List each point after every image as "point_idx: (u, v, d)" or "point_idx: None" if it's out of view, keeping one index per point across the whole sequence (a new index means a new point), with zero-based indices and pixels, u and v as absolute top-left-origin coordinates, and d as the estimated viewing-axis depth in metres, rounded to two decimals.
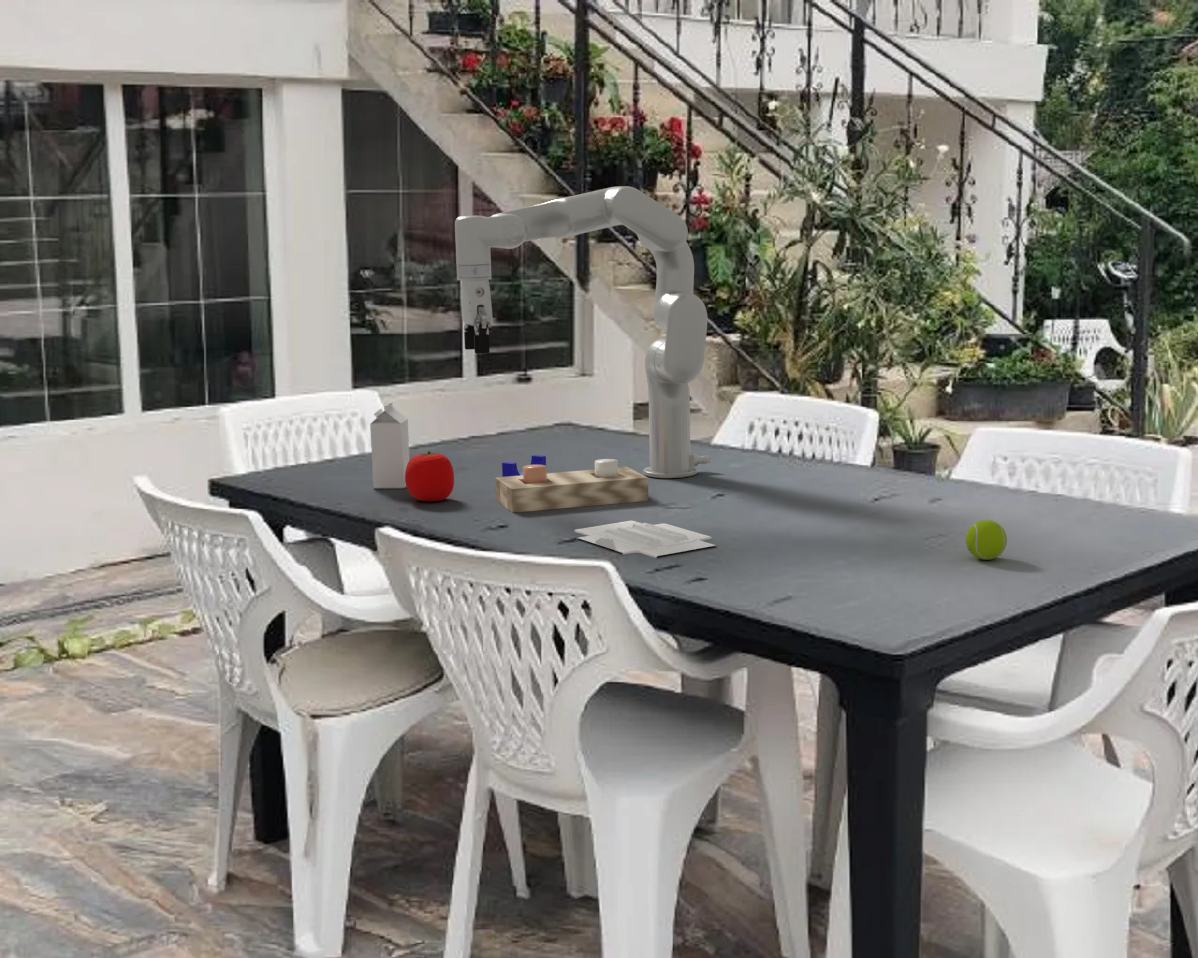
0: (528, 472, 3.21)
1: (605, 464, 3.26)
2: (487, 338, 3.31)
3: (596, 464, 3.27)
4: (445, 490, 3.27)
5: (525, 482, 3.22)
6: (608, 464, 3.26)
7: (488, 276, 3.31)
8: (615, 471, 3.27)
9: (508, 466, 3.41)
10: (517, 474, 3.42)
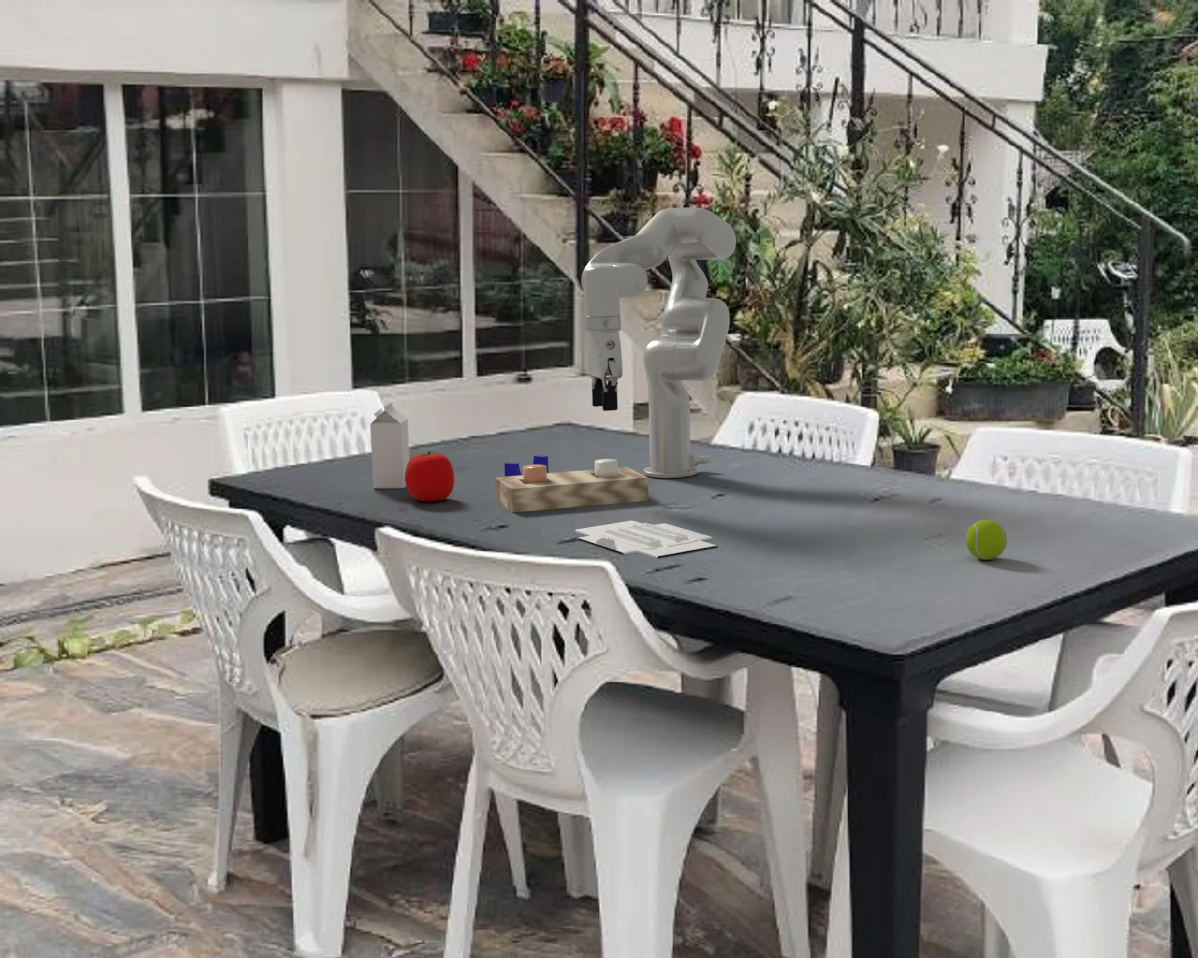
0: (528, 472, 3.21)
1: (605, 464, 3.26)
2: (615, 395, 3.22)
3: (596, 464, 3.27)
4: (445, 490, 3.27)
5: (525, 482, 3.22)
6: (608, 464, 3.26)
7: (618, 328, 3.21)
8: (615, 471, 3.27)
9: (510, 466, 3.40)
10: (519, 474, 3.41)
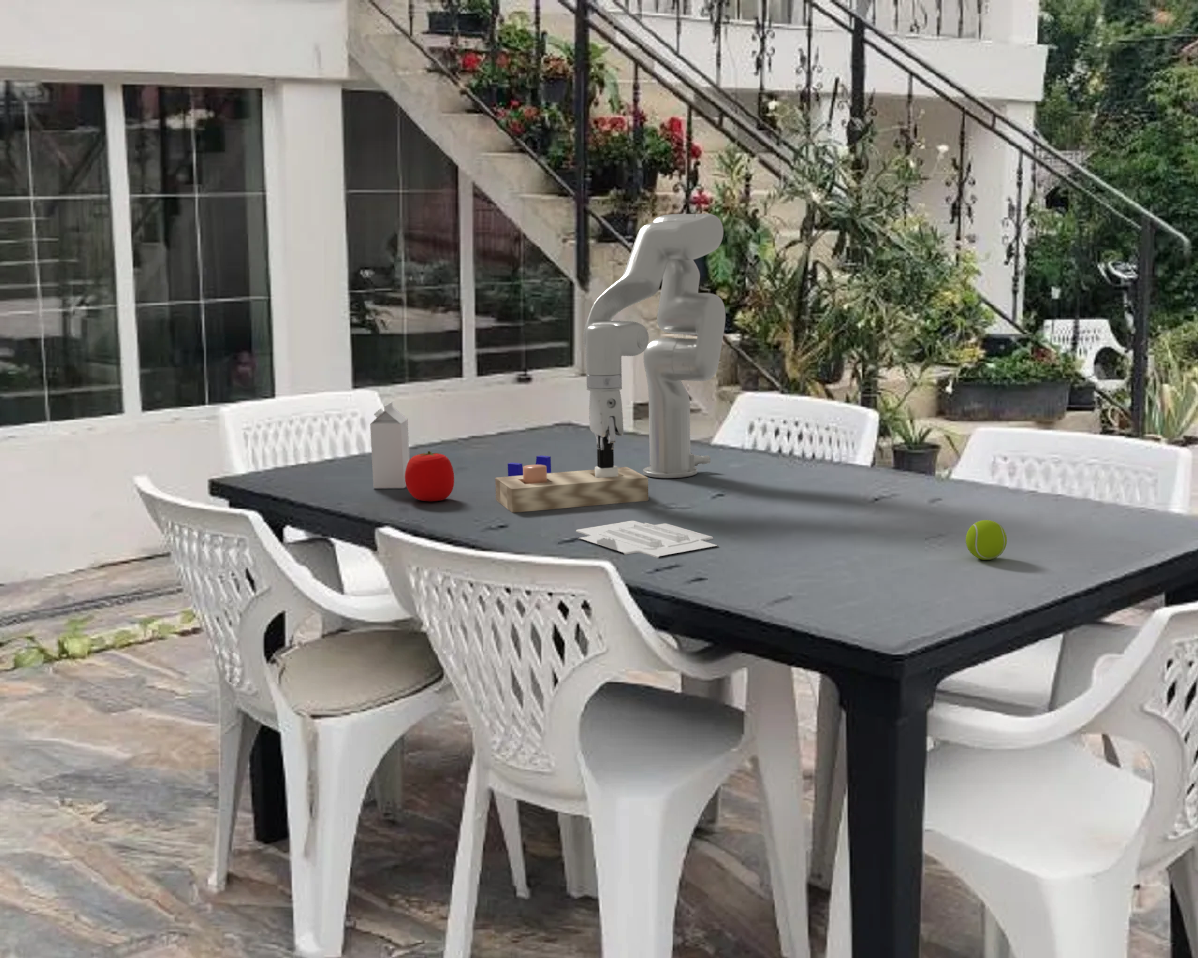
0: (528, 472, 3.21)
1: (605, 470, 3.26)
2: (612, 453, 3.27)
3: (596, 470, 3.27)
4: (445, 490, 3.27)
5: (525, 482, 3.22)
6: (608, 470, 3.26)
7: (619, 386, 3.23)
8: None
9: (514, 467, 3.40)
10: None
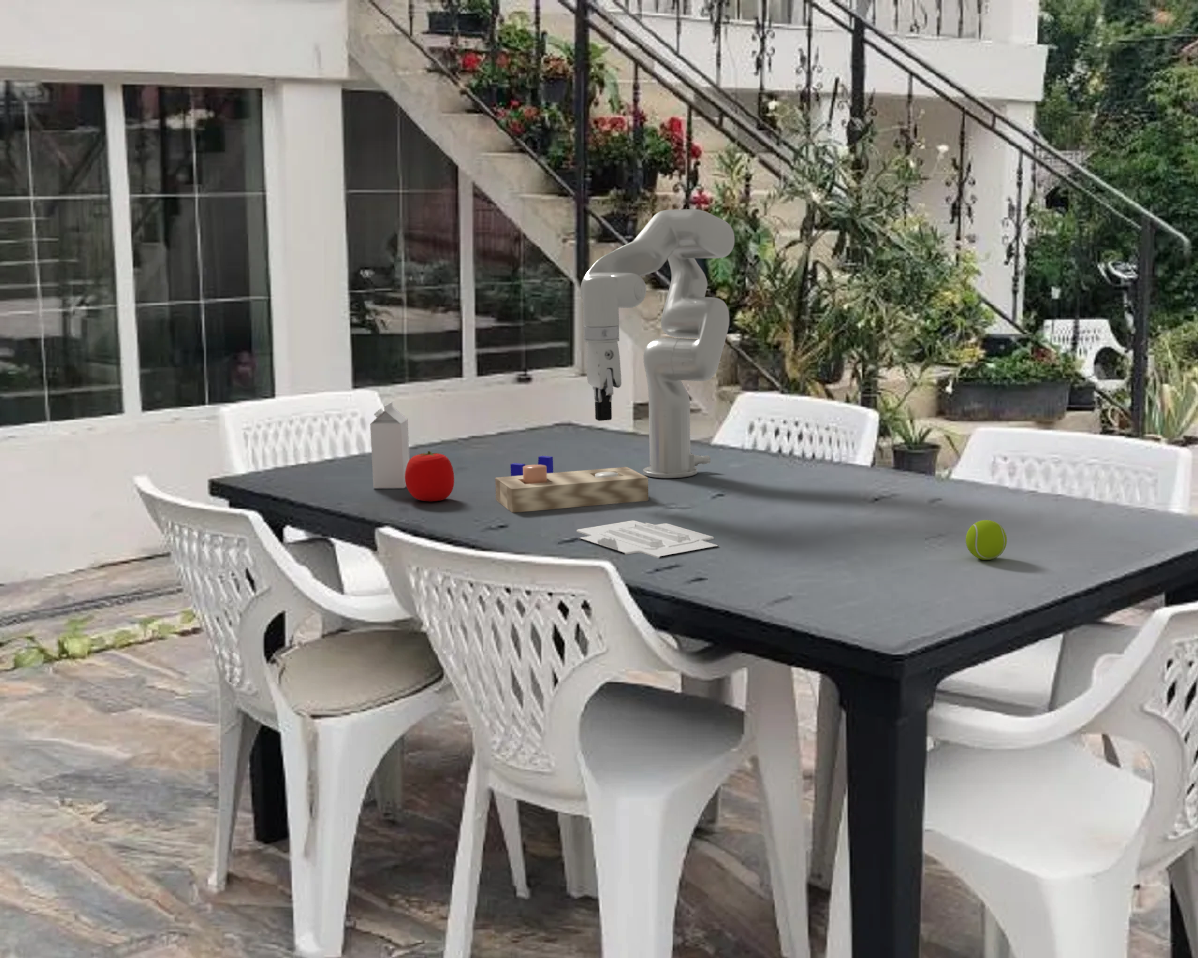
0: (528, 472, 3.21)
1: None
2: (609, 405, 3.25)
3: (596, 477, 3.27)
4: (445, 490, 3.27)
5: (525, 482, 3.22)
6: None
7: (617, 338, 3.21)
8: None
9: (517, 467, 3.39)
10: None
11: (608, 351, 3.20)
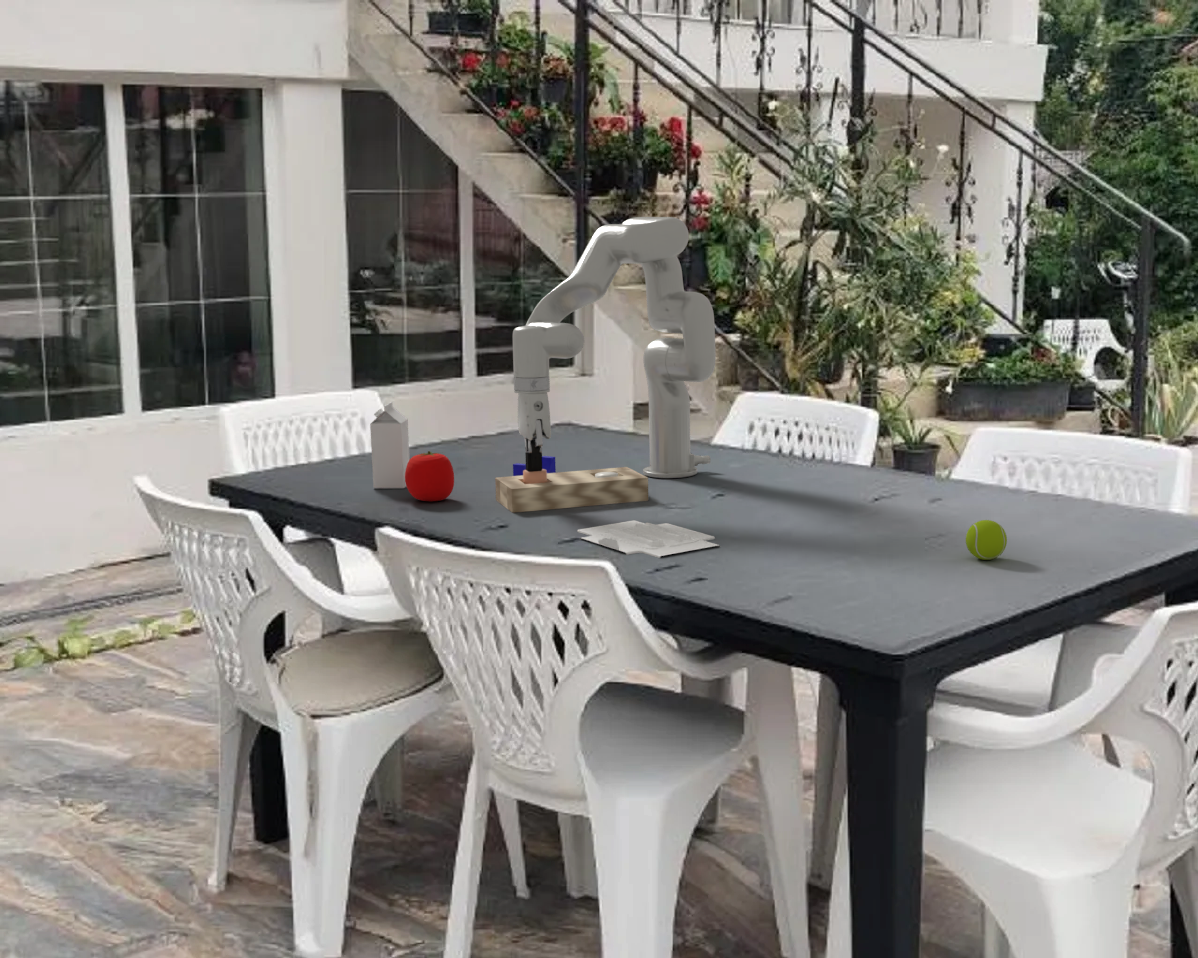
0: (528, 476, 3.21)
1: None
2: (540, 456, 3.22)
3: (596, 477, 3.27)
4: (445, 490, 3.27)
5: None
6: None
7: (547, 389, 3.18)
8: None
9: (519, 467, 3.39)
10: None
11: (538, 402, 3.17)
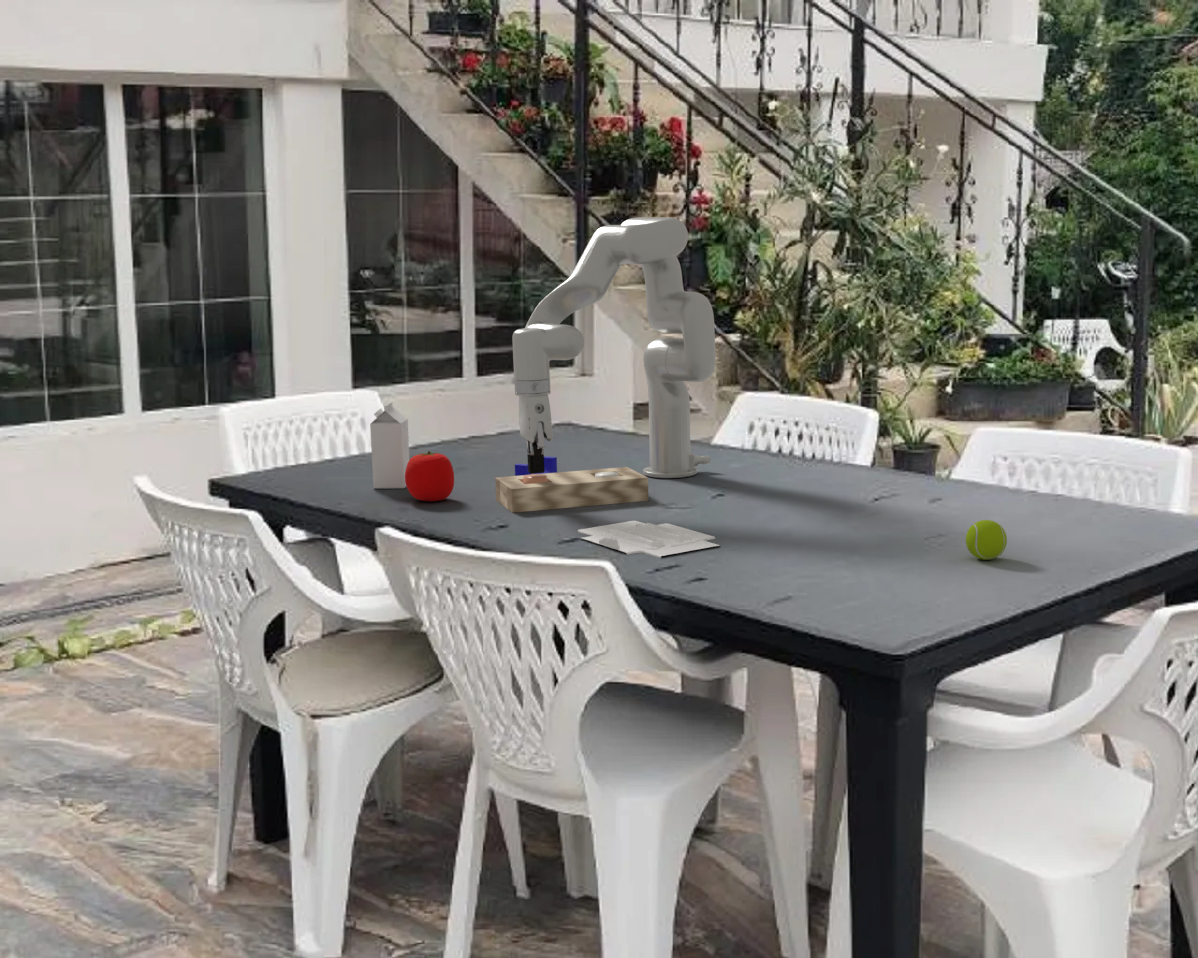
0: (528, 482, 3.22)
1: None
2: (542, 458, 3.23)
3: (596, 477, 3.27)
4: (445, 490, 3.27)
5: None
6: None
7: (547, 391, 3.19)
8: None
9: (521, 468, 3.38)
10: None
11: (539, 405, 3.17)
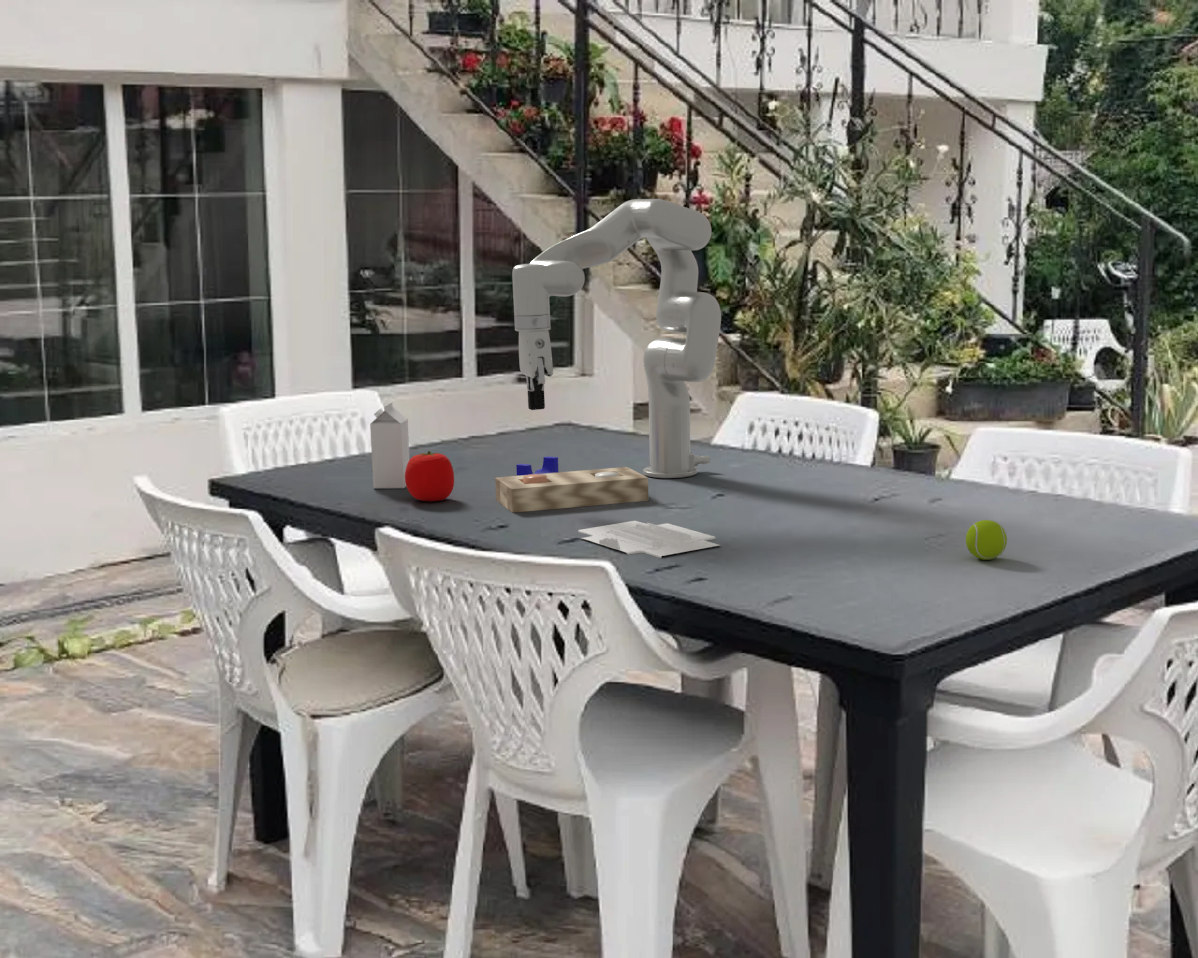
0: (528, 482, 3.22)
1: None
2: (542, 394, 3.23)
3: (596, 477, 3.27)
4: (445, 490, 3.27)
5: None
6: None
7: (548, 326, 3.19)
8: None
9: (523, 468, 3.38)
10: None
11: (539, 340, 3.18)
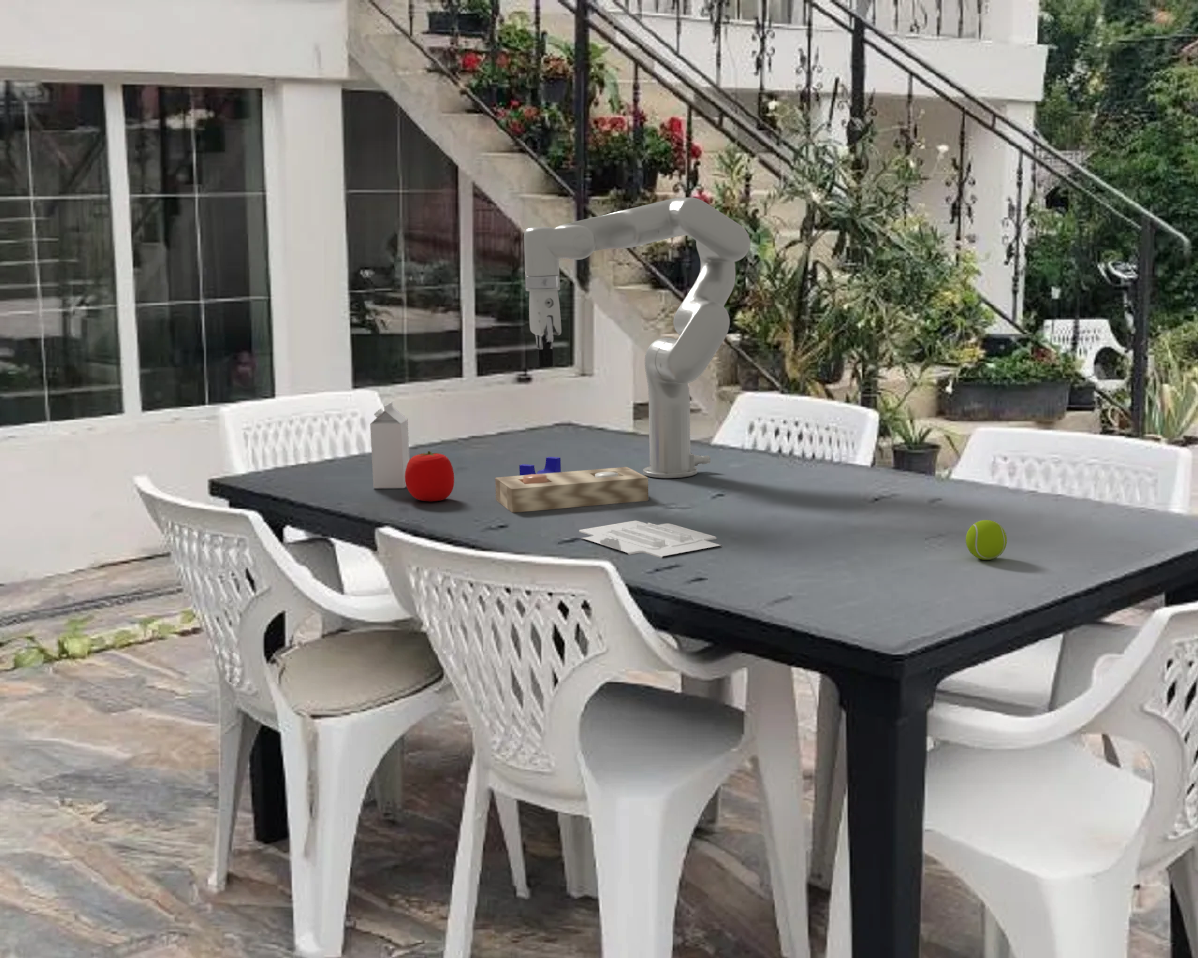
0: (528, 482, 3.22)
1: None
2: (551, 352, 3.38)
3: (596, 477, 3.27)
4: (445, 490, 3.27)
5: None
6: None
7: (557, 287, 3.34)
8: None
9: (526, 468, 3.37)
10: None
11: (548, 299, 3.33)
